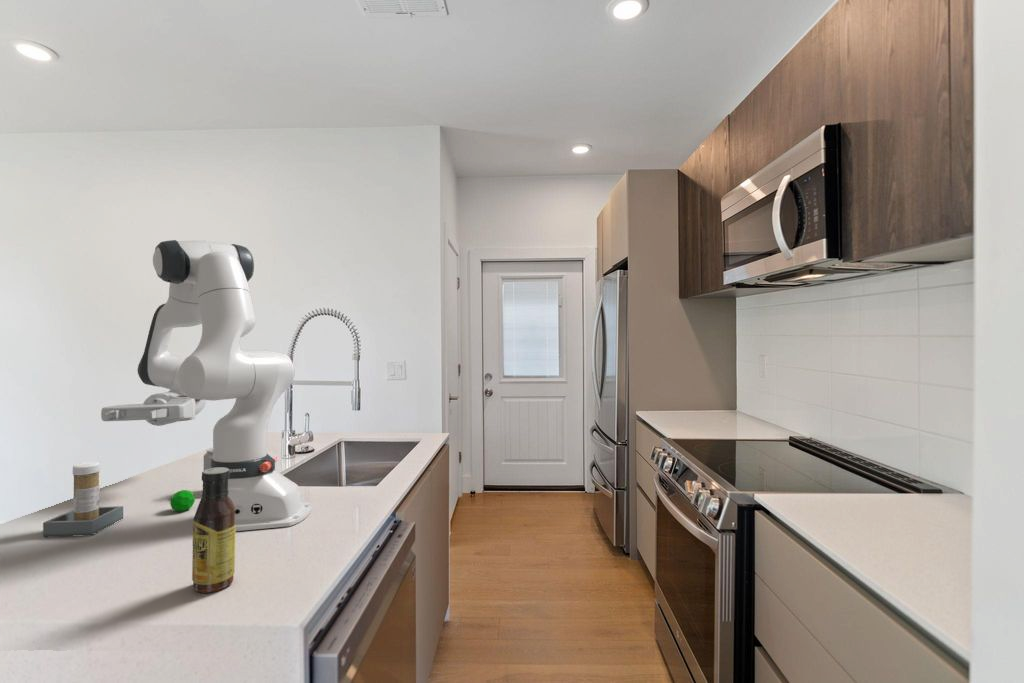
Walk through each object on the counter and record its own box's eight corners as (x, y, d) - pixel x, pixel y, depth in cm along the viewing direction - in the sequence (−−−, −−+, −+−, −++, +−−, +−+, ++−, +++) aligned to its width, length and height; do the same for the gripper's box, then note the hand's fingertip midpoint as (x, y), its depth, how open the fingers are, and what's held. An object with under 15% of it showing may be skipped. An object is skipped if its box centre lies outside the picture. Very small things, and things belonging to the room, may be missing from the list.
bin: (123, 519, 115) (123, 506, 115) (92, 535, 106) (92, 521, 106) (78, 520, 114) (78, 507, 114) (43, 536, 105) (43, 522, 105)
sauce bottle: (188, 585, 85) (188, 468, 85) (228, 573, 89) (229, 462, 89) (197, 600, 80) (198, 476, 80) (240, 586, 85) (240, 469, 85)
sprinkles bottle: (79, 522, 112) (79, 462, 111) (103, 520, 113) (103, 460, 113) (68, 529, 107) (68, 467, 107) (93, 527, 109) (93, 465, 108)
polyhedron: (166, 514, 118) (166, 494, 118) (176, 507, 123) (176, 488, 123) (189, 513, 119) (189, 493, 119) (198, 506, 124) (198, 487, 124)
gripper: (121, 398, 137) (83, 404, 123) (200, 396, 138) (171, 401, 125) (122, 421, 137) (83, 430, 123) (201, 418, 138) (171, 426, 125)
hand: (128, 415), depth 124 cm, fingers open, 8 cm apart
